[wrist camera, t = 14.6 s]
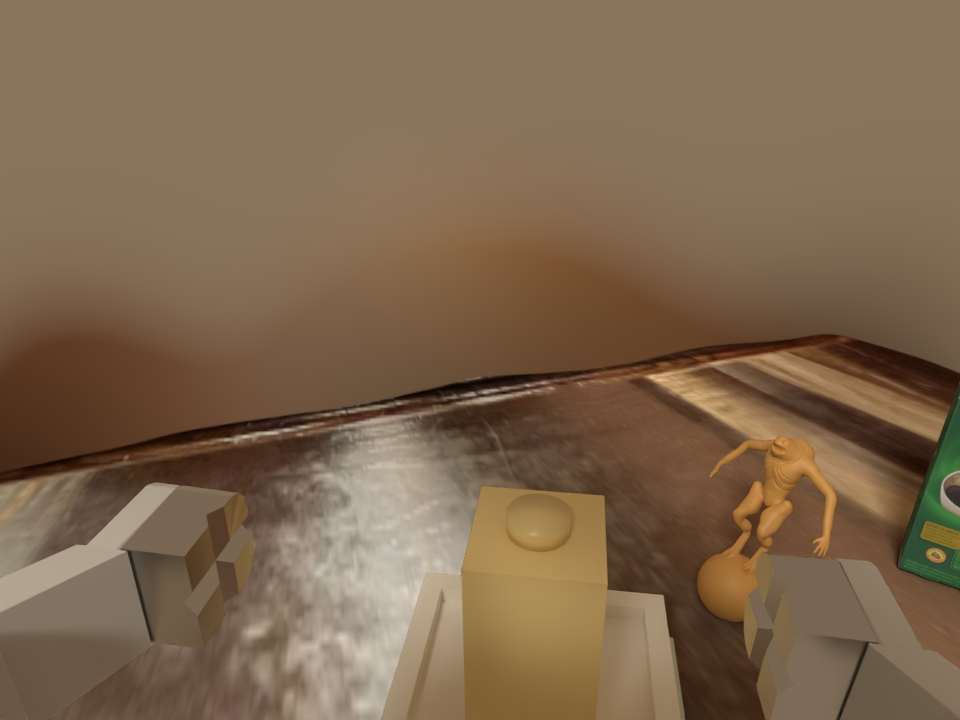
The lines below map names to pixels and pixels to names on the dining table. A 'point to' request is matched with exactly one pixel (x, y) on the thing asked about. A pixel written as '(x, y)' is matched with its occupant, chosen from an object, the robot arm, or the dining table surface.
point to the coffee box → (938, 511)
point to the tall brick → (534, 605)
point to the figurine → (761, 522)
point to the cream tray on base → (623, 670)
